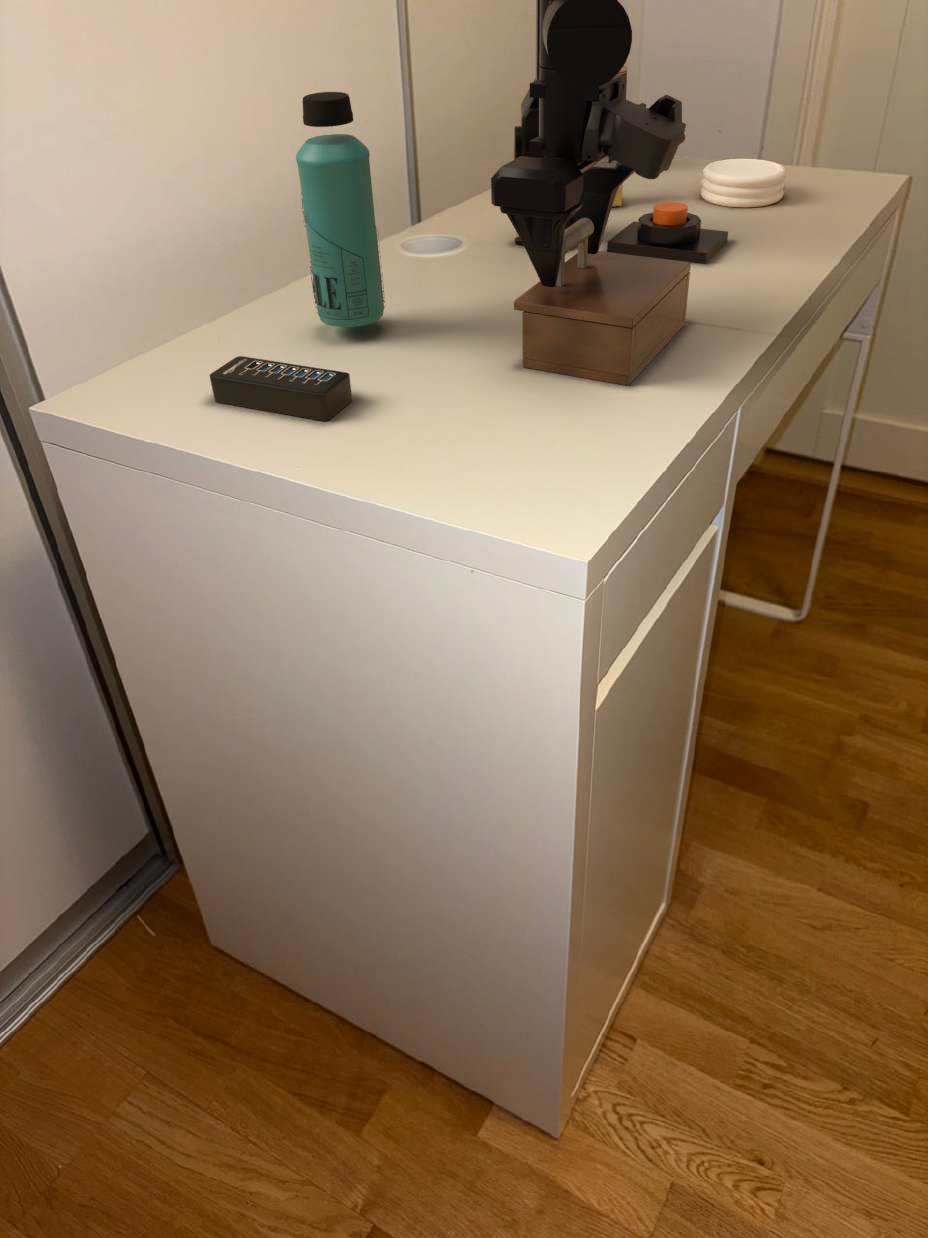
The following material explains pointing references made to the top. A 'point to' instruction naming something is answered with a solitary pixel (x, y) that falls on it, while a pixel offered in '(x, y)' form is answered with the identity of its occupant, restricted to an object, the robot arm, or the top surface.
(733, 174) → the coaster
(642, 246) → the control block
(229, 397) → the multiport hub
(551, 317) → the chest
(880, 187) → the top surface
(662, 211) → the power button
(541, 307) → the chest lid
